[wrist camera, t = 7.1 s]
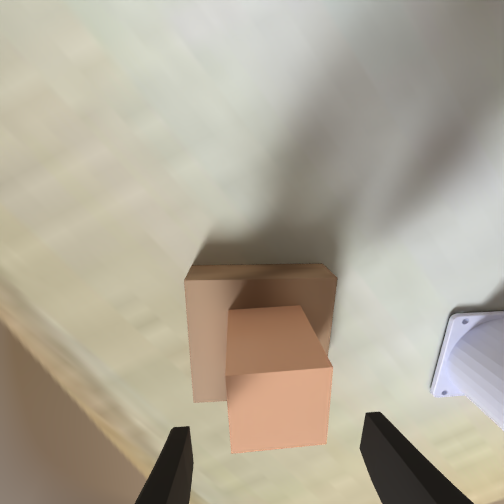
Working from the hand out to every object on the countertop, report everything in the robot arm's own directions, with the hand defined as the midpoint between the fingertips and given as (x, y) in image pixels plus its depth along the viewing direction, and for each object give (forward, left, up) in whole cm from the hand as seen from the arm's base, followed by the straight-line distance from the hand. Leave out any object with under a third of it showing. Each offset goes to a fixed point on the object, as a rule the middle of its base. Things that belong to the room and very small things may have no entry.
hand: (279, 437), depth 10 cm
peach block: (0, 0, -6) cm, 6 cm away
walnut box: (0, 0, -9) cm, 9 cm away
